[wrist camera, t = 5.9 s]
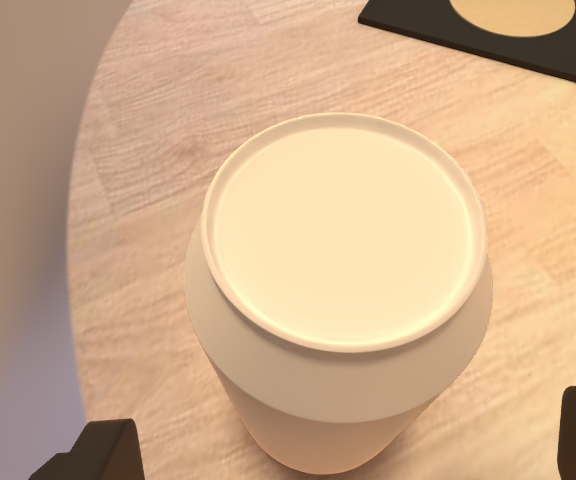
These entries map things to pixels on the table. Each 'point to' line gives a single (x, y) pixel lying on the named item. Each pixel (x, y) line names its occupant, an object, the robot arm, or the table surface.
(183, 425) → the table surface
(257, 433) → the beverage can
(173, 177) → the table surface
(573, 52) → the mat
